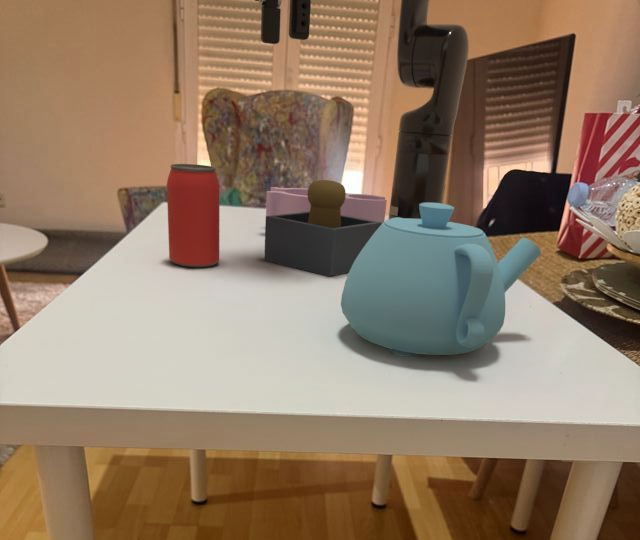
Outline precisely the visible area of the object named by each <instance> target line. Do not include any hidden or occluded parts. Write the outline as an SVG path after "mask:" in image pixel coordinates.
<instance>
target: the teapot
mask: <svg viewBox="0 0 640 540" xmlns="http://www.w3.org/2000/svg"><path fill="white" fill-rule="evenodd" d="M419 210H420V215H421V219H411V218H399V217H396V218H391V219H389V218H388V219H389V220H388V219H387V220H384V223H382V225H381V226H380V227H379V228H378V229H377V230H376V231H375V233H374V234H373V235H372V237H371V238H370V239H369V241H368V242H367V243H366V245H365V246H364V248H363V249H362V250H361V252H360V253H359V255H358V256H357V258H356V260H355V261H354V263H353V265H352V267H351V269H350V271H349V272H348V274H347V276H346V279H345V282H344V286H343V290H342V293H341V299H340V307H341V311H342V314H343V315H344V317H345V319H346V320H347V322H348V323H349V325H350V327H352V329H353V330H354V331H355V333H356V334H357V335H358V336H359V337H361V338H362V339H364V340H366V341H368V342H370V343H372V344H375V345H378V346H381V347H384V348H387V349H391V350H390V351H391V353H392V354H394V355H397V356H401V357H413V356H417V355H418V354H419V355H430V356H449V355H451V356H453V355H461V354H466V353H467V354H468V353H471V352H474V351H477V350H478V349H480V348H481V347H483V345H485V344H487V343H488V342H489V341H491V340H492V339H493V338H495V336H497V334H498V333H500V331H501V329H502V328H503V326H504V324H505V323H504V322H505V319H506V292H507V291H508V290H509V289H510V288H511V287H512V286H513V285H514V284H515V283H516V282H517V280H518V279H520V277H522V275H523V274H525V272H526V271H527V270H528V269H529V268H530V267H531V266H532V265H533V263H534V262H535V261H536V260H537V259H538V258H539V257H540V256H541V255H542V251H541V249H540V248H539V247H538V245H537V244H536V243H534V242H533V241H532V240H530V239H529V238H526V237H521V238H520V239H519V240H518V241H517V242H516V243H515V244H514V246H513V247H511V249H510V250H509V251H508V252H507V253H506V254H505V255H504V256H503V257H502V258H501V259H500V260H499V261H498V260H497V258H496V254H495V251H494V249H493V247H492V244H491V243H490V241H489V238H488V236H487V235H486V233H485V232H484V231H483V230H482V229H481V228H479V227H475V226H472V225H469V224H464V223H460V222H452V221H450V219H451V217H452V215H453V213H454V211H455V207H454V206H452V205H450V204H446V203H443V204H441V203H421V204H419Z"/></svg>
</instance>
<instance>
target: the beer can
mask: <svg viewBox="0 0 640 540" xmlns="http://www.w3.org/2000/svg"><path fill="white" fill-rule="evenodd" d="M166 200H167V201H166V202H167V229H168V230H167V231H168V259H169V260H170V261H171V262H172V263H174V264H175V265H178V266H181V267H187V268H209V267H213V266H215V265H216V264H218V263H219V261H220V183H219V179H218V176H217V173H216V167H214V166H212V165H204V164H193V163H173V164H171V165H170V171H169V174H168V176H167V181H166Z"/></svg>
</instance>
